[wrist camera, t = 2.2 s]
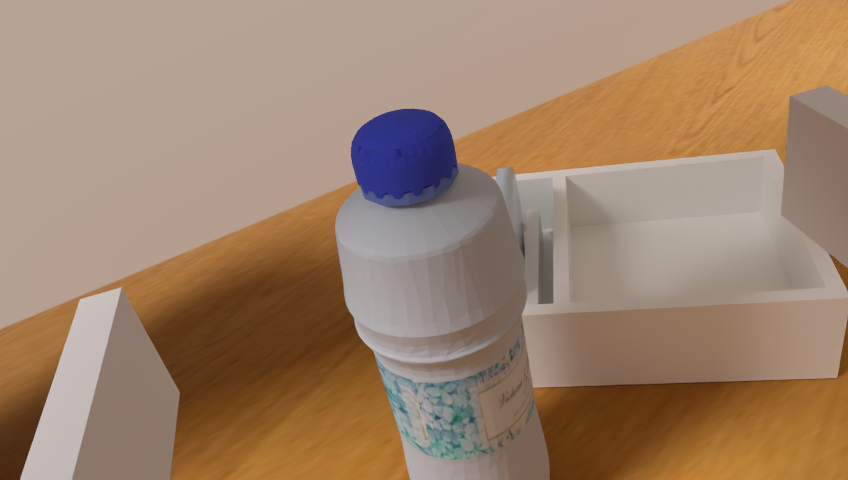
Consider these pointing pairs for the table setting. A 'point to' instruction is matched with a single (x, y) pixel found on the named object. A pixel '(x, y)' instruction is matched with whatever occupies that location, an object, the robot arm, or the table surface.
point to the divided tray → (672, 275)
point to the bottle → (440, 302)
